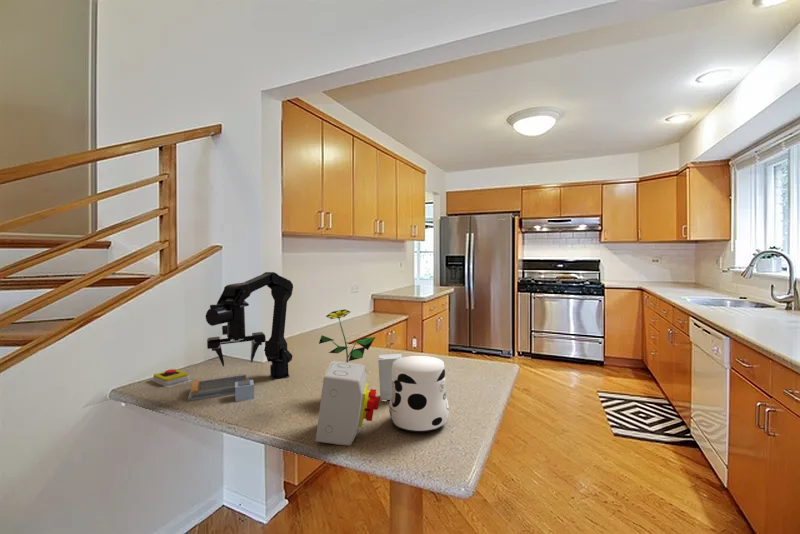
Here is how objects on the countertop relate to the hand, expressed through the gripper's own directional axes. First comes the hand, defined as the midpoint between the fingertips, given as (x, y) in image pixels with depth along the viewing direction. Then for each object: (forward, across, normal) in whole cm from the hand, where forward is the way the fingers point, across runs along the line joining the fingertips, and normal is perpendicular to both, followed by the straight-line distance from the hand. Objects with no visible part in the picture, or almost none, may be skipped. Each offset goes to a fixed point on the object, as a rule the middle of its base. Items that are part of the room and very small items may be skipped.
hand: (237, 364), depth 135 cm
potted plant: (+12, -32, +24) cm, 42 cm away
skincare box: (+12, -46, +30) cm, 56 cm away
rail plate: (+11, +6, -9) cm, 16 cm away
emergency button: (+12, +22, -31) cm, 40 cm away
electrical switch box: (+12, -25, +46) cm, 54 cm away
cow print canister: (+12, -45, +50) cm, 68 cm away
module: (+12, -2, +2) cm, 12 cm away
